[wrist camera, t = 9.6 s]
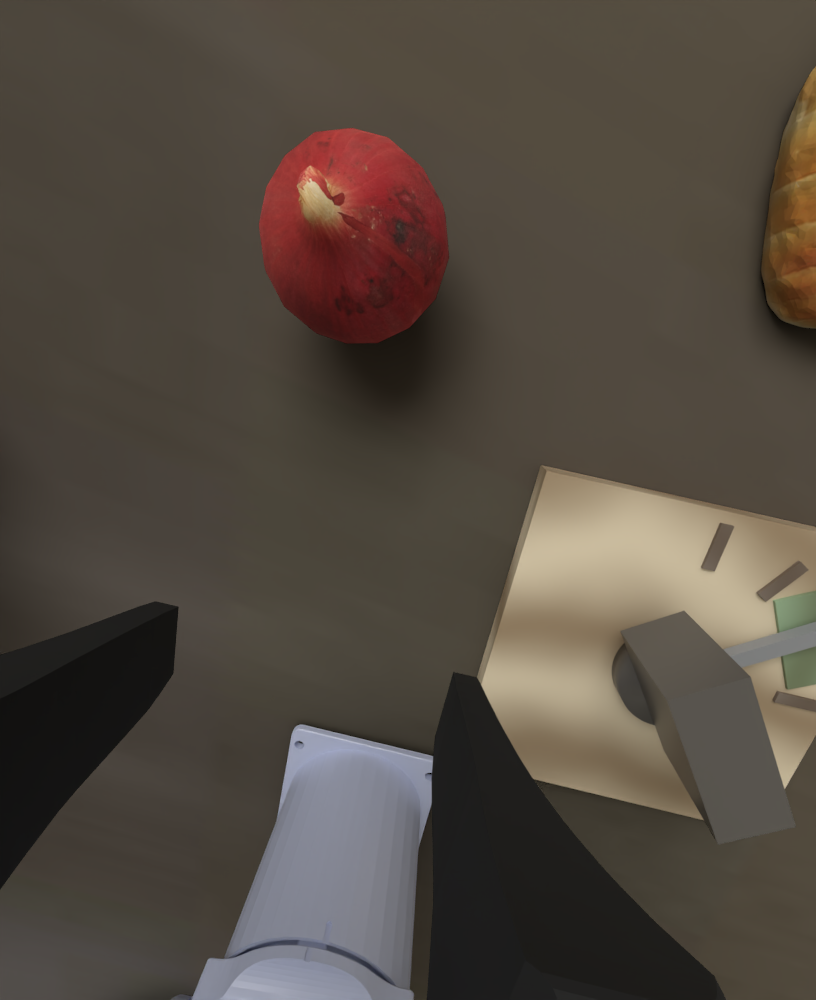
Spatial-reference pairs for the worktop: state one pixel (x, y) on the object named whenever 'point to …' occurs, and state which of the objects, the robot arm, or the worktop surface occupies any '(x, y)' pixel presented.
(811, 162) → the pastry
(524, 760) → the board
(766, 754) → the dark angled piece
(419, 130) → the worktop surface
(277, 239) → the onion
